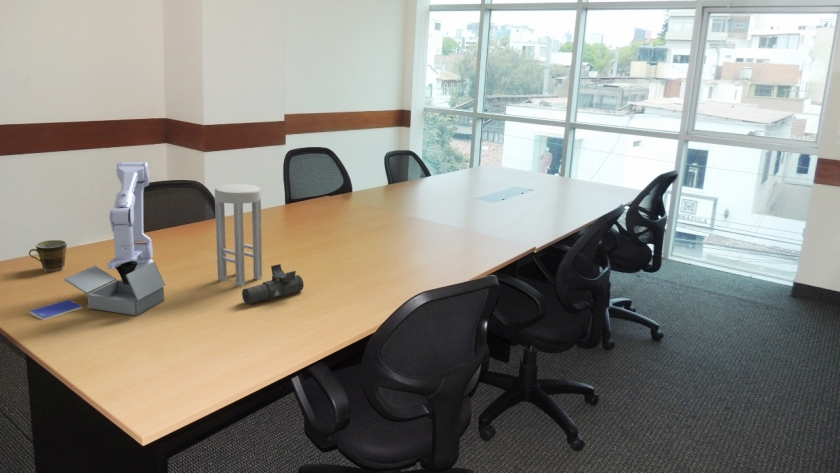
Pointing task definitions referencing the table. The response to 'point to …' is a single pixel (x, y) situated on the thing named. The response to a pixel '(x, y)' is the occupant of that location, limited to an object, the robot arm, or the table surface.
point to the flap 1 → (90, 279)
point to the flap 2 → (145, 280)
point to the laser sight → (274, 286)
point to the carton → (123, 299)
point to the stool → (238, 230)
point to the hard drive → (55, 309)
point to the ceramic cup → (51, 254)
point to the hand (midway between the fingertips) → (127, 283)
